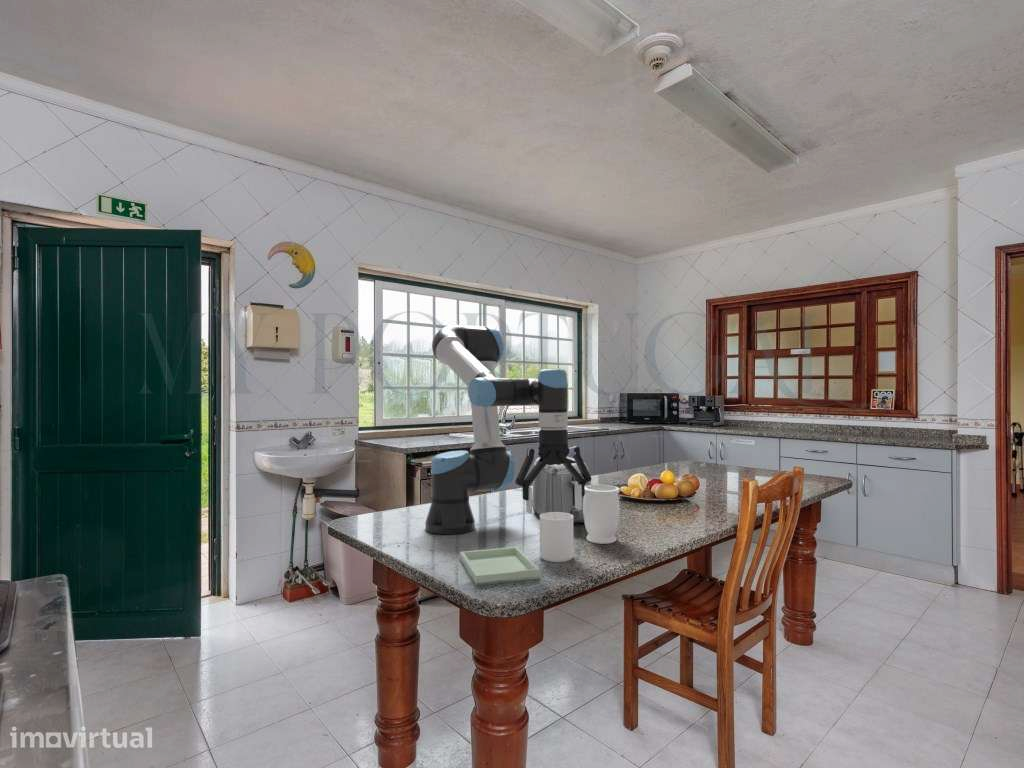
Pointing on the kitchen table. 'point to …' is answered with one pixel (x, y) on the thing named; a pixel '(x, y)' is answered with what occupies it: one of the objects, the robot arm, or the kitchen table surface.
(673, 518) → the kitchen table surface
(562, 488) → the toaster
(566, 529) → the mug
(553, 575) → the kitchen table surface
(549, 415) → the robot arm
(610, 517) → the jar
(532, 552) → the kitchen table surface
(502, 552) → the tray
